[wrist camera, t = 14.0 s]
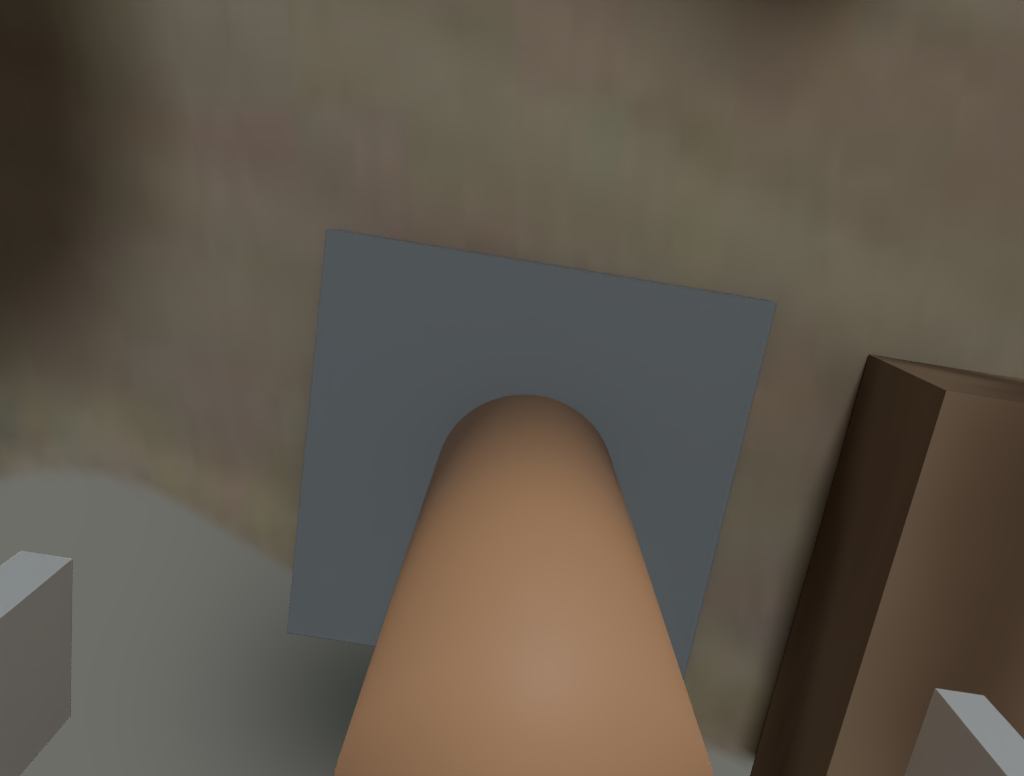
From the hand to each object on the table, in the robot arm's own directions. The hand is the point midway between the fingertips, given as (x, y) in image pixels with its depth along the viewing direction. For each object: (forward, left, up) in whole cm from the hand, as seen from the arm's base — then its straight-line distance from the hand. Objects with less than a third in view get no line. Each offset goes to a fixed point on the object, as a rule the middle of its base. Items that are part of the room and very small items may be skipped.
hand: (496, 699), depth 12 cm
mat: (0, 0, -11) cm, 11 cm away
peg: (0, 0, -10) cm, 10 cm away
